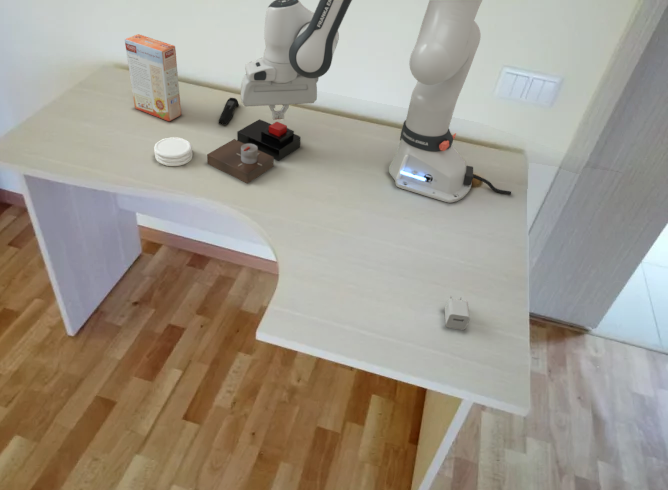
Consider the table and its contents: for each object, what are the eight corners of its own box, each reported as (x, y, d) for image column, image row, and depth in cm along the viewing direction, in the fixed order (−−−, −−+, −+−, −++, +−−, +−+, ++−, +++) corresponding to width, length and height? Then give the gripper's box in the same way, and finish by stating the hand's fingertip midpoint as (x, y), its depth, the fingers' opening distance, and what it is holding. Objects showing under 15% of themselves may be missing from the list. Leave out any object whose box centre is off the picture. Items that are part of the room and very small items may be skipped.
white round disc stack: (199, 153, 148) (199, 142, 145) (179, 171, 141) (178, 159, 138) (169, 144, 150) (167, 132, 148) (147, 160, 144) (146, 149, 141)
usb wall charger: (444, 327, 107) (450, 313, 104) (443, 302, 112) (448, 289, 109) (464, 330, 107) (470, 316, 104) (462, 305, 112) (468, 292, 109)
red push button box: (299, 147, 153) (301, 130, 150) (278, 161, 147) (279, 143, 144) (259, 130, 159) (259, 112, 155) (237, 142, 153) (237, 125, 149)
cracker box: (182, 115, 163) (176, 45, 148) (169, 122, 159) (161, 51, 144) (148, 101, 168) (138, 32, 153) (134, 108, 164) (123, 38, 149)
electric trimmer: (215, 127, 159) (214, 118, 157) (227, 103, 170) (227, 94, 168) (227, 129, 159) (227, 119, 156) (239, 105, 170) (239, 96, 167)
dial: (247, 153, 144) (247, 140, 141) (260, 158, 142) (261, 146, 139) (237, 160, 141) (237, 147, 138) (251, 165, 139) (251, 153, 137)
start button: (286, 132, 149) (287, 125, 148) (278, 137, 147) (279, 130, 145) (276, 128, 150) (276, 121, 149) (268, 132, 148) (268, 125, 147)
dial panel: (274, 167, 145) (274, 156, 143) (248, 184, 139) (248, 173, 136) (234, 148, 151) (234, 138, 149) (207, 164, 144) (206, 153, 142)
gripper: (316, 61, 140) (311, 111, 150) (239, 64, 136) (239, 114, 146) (322, 72, 136) (317, 122, 146) (243, 74, 132) (243, 126, 141)
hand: (277, 118), depth 146 cm, fingers closed
